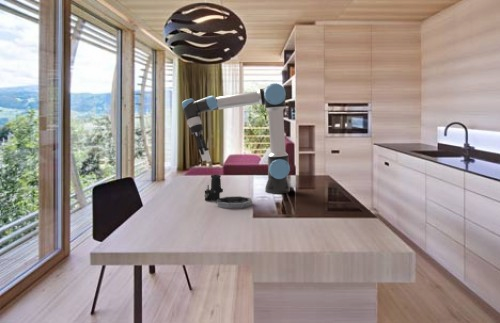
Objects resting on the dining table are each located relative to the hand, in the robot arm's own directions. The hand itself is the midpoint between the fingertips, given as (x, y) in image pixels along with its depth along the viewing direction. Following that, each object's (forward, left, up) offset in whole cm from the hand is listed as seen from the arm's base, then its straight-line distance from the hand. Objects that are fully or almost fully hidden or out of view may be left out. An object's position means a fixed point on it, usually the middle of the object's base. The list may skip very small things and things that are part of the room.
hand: (207, 161), depth 225 cm
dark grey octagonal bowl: (-13, +19, -21) cm, 32 cm away
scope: (-3, +5, -22) cm, 22 cm away
